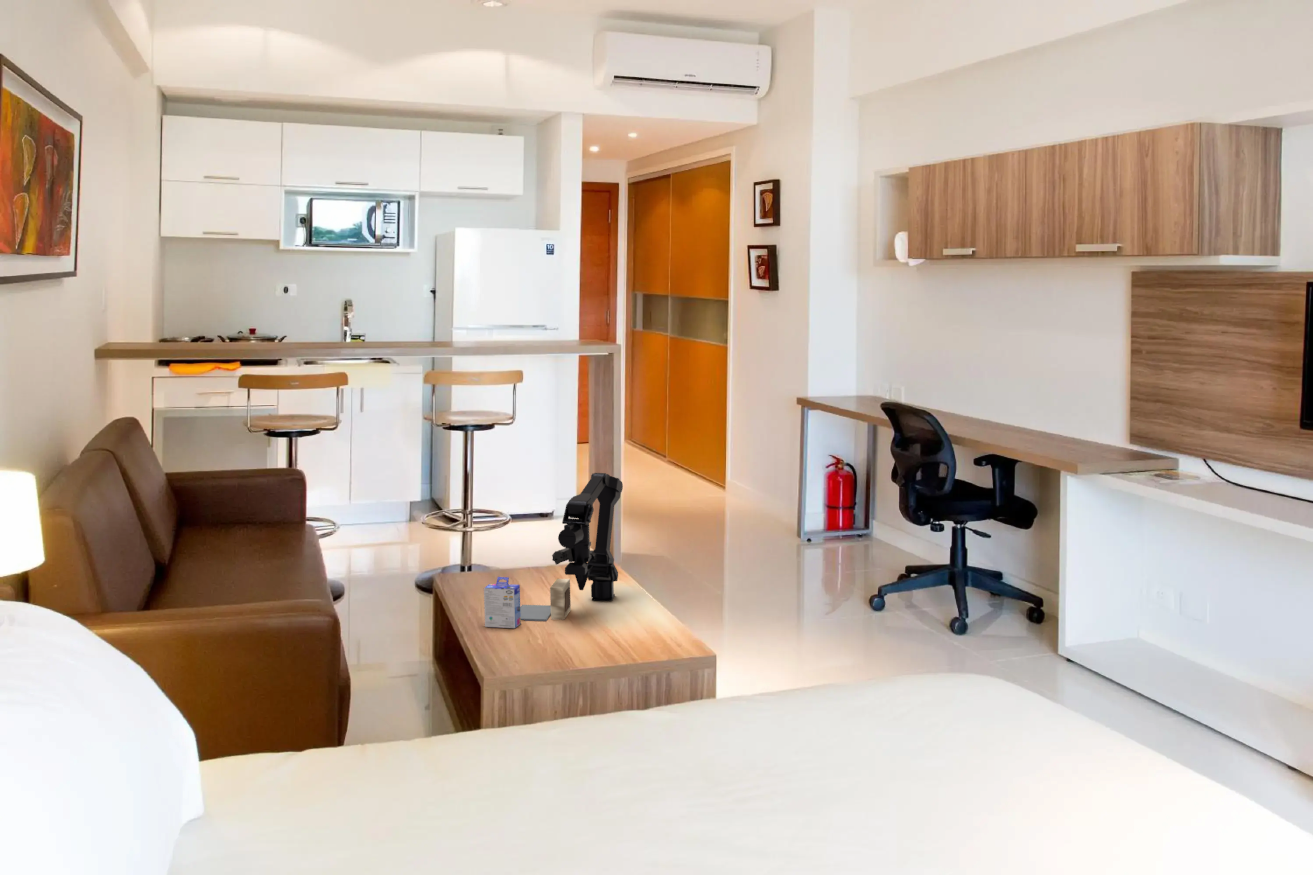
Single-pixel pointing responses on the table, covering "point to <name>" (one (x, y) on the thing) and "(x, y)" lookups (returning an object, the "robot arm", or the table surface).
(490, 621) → the ink cartridge box
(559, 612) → the wooden block
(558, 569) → the table surface
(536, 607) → the mat
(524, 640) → the table surface
